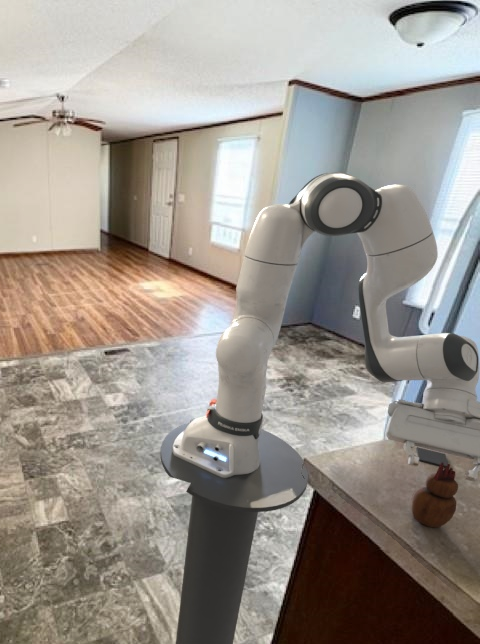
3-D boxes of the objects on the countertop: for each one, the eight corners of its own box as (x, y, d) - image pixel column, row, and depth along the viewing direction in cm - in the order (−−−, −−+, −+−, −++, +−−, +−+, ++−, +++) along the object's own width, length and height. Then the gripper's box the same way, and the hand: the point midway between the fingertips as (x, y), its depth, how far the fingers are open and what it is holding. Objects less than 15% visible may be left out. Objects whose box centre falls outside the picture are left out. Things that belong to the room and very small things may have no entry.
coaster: (418, 460, 106) (419, 459, 106) (416, 448, 111) (416, 447, 111) (448, 468, 103) (449, 466, 103) (444, 455, 108) (445, 453, 108)
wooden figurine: (412, 527, 86) (437, 467, 80) (402, 507, 91) (425, 450, 85) (451, 535, 84) (480, 475, 78) (439, 514, 89) (465, 456, 83)
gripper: (393, 392, 92) (384, 453, 88) (518, 417, 82) (514, 486, 78) (386, 401, 97) (377, 459, 93) (503, 425, 88) (498, 491, 83)
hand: (441, 472), depth 85 cm, fingers open, 8 cm apart
